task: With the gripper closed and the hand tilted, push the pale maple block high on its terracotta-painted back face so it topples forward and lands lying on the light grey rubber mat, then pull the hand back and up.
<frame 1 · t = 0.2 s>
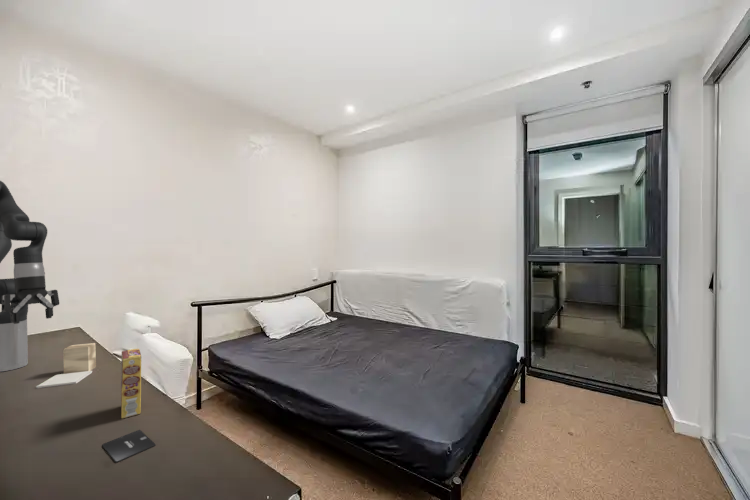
hand: (33, 320, 114), 18 cm above the table, tool pointing down, fingers open, 8 cm apart
mat: (65, 379, 105), on the table
maple block: (80, 370, 113), on the table
candy box: (131, 410, 85), on the table
solid state drive: (128, 448, 69), on the table
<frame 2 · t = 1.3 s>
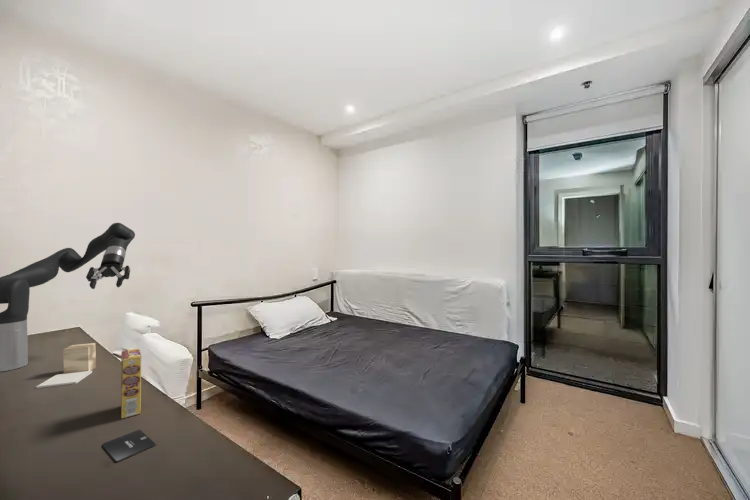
hand: (105, 287, 133), 28 cm above the table, tool tilted 40°, fingers open, 8 cm apart
nothing on the table moved.
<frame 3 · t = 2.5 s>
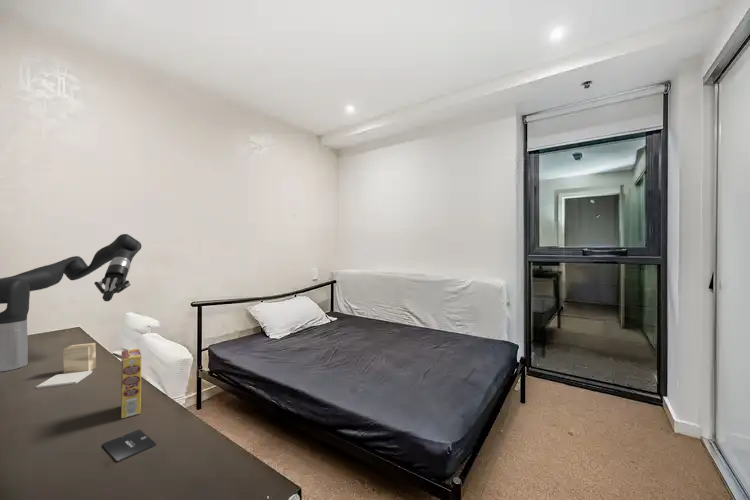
hand: (106, 300, 132), 23 cm above the table, tool tilted 45°, fingers closed
nothing on the table moved.
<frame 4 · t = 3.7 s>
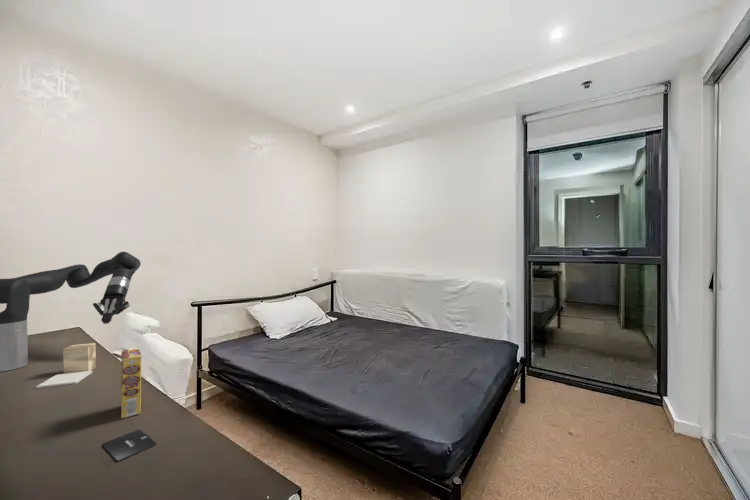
hand: (105, 322, 129), 14 cm above the table, tool tilted 45°, fingers closed
nothing on the table moved.
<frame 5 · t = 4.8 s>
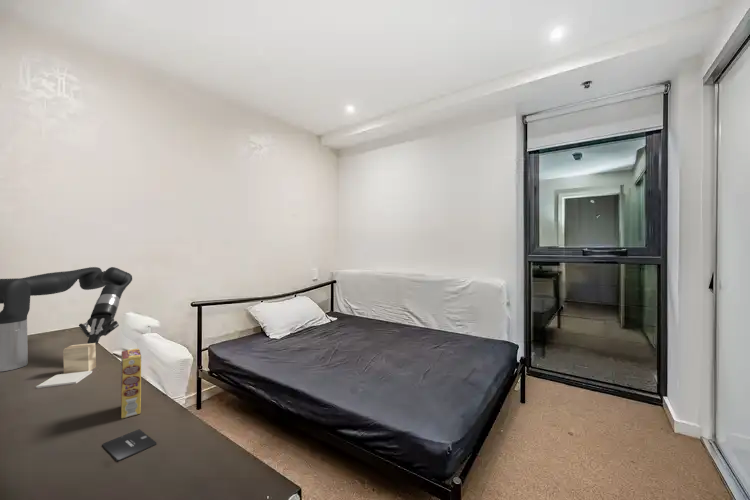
hand: (91, 345, 120), 7 cm above the table, tool tilted 45°, fingers closed
nothing on the table moved.
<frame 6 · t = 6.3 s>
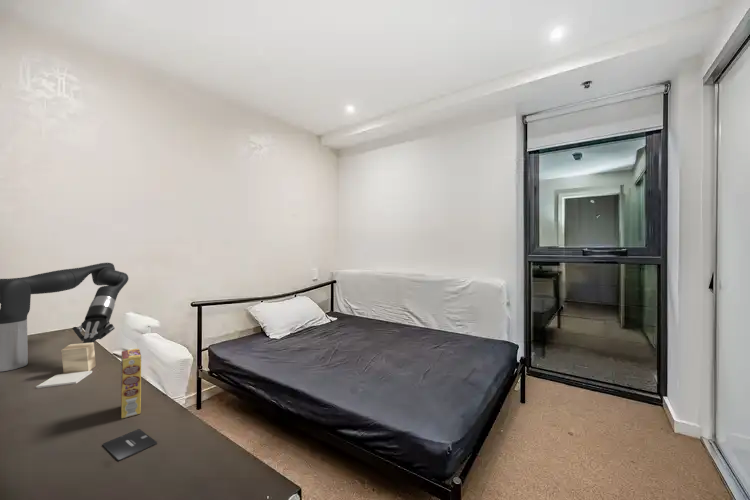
hand: (86, 349, 116), 7 cm above the table, tool tilted 45°, fingers closed
maple block: (80, 370, 113), on the table, tilted 7°, touching gripper
everything else where it was.
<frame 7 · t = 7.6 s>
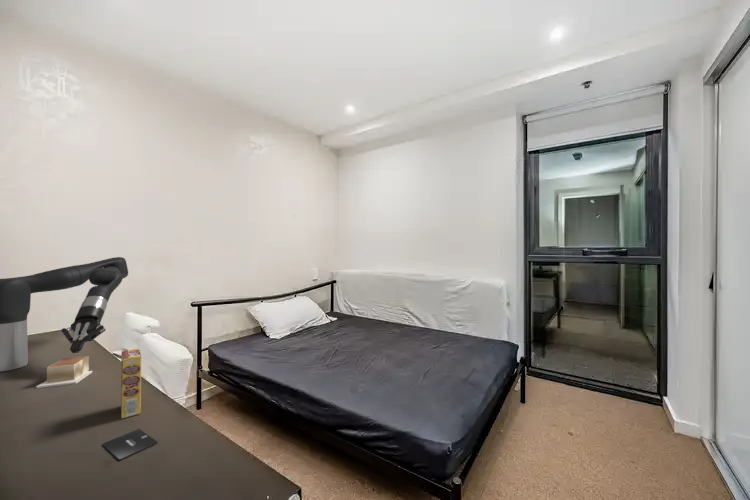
hand: (74, 351, 110), 8 cm above the table, tool tilted 45°, fingers closed
maple block: (76, 364, 111), point 3 cm above the table, tilted 90°, touching mat
everything else where it was.
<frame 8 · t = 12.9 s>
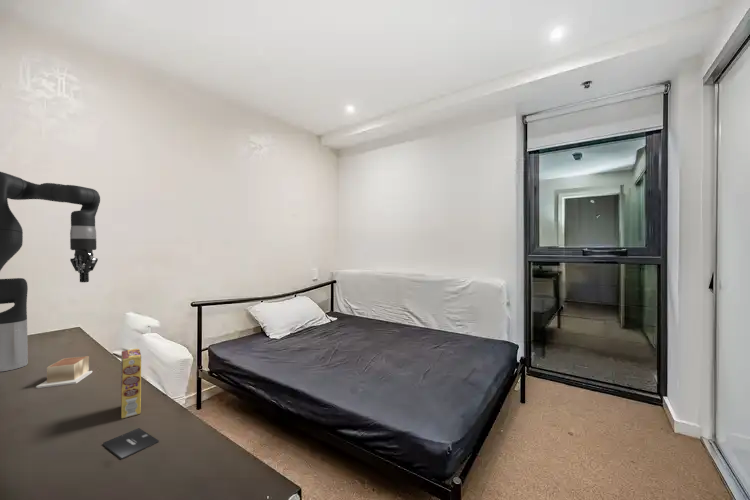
hand: (84, 282, 123), 31 cm above the table, tool pointing down, fingers closed
nothing on the table moved.
at the end: maple block tilted 90°; maple block touching mat; maple block inside the target area (2.0 cm from its centre), point 3.1 cm above the table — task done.
